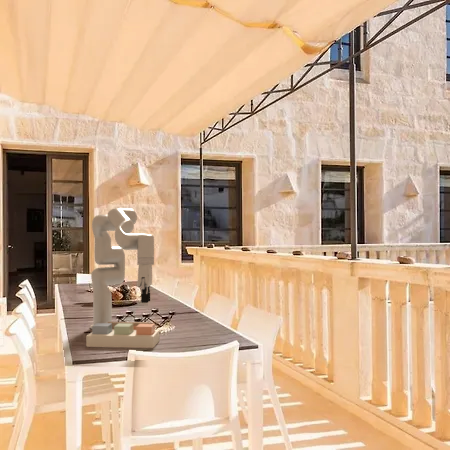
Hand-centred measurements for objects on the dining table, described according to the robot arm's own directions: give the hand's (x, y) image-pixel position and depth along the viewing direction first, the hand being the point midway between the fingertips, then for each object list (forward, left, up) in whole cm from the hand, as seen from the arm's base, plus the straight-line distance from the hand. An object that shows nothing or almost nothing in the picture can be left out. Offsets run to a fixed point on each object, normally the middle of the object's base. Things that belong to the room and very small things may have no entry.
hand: (145, 301), depth 230 cm
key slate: (0, -20, -15) cm, 25 cm away
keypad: (-1, -10, -19) cm, 22 cm away
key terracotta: (0, 0, -15) cm, 15 cm away
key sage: (0, -10, -15) cm, 18 cm away
